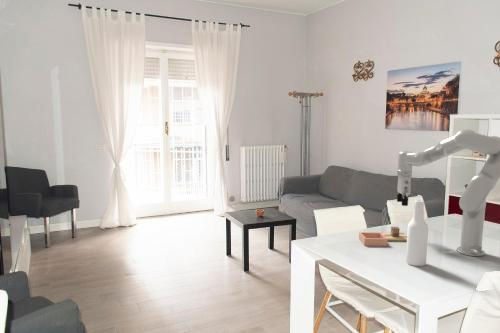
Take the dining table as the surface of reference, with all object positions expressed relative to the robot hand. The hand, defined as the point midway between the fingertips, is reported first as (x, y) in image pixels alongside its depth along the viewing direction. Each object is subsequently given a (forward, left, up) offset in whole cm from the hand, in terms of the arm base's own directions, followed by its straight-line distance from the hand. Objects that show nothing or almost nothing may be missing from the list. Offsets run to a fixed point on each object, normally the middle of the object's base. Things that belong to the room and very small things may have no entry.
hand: (402, 203), depth 224 cm
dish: (-10, +18, -20) cm, 29 cm away
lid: (-1, +3, -20) cm, 20 cm away
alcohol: (-40, +6, -21) cm, 45 cm away
